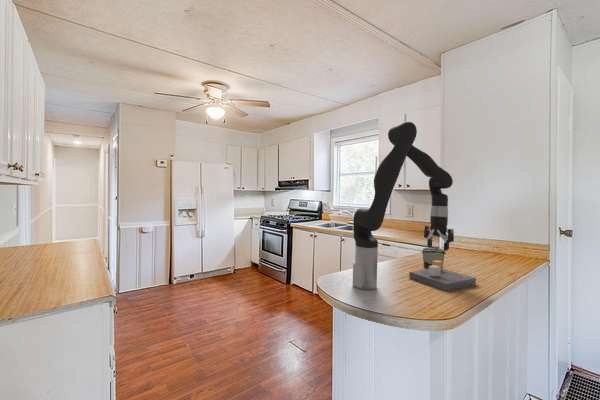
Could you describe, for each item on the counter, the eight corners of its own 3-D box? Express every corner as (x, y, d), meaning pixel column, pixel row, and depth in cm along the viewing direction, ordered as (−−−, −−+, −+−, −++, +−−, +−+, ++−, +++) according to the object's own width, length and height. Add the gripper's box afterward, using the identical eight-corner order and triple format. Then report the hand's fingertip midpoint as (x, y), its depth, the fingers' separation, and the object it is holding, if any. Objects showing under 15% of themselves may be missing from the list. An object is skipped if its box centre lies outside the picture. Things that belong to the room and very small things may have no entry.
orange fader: (437, 270, 132) (437, 262, 132) (431, 269, 135) (431, 260, 135) (442, 269, 134) (442, 261, 134) (437, 268, 137) (437, 260, 137)
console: (446, 291, 114) (446, 283, 114) (409, 278, 131) (409, 271, 131) (475, 284, 123) (475, 277, 123) (437, 273, 140) (437, 267, 140)
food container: (440, 266, 154) (441, 248, 154) (445, 269, 148) (446, 250, 148) (417, 265, 156) (418, 247, 155) (421, 268, 150) (422, 249, 149)
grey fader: (434, 276, 122) (434, 267, 122) (428, 274, 125) (428, 266, 125) (440, 275, 124) (440, 266, 124) (434, 273, 127) (434, 265, 127)
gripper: (421, 214, 138) (420, 246, 139) (447, 216, 126) (446, 252, 126) (431, 214, 142) (430, 245, 142) (458, 216, 129) (456, 251, 129)
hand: (437, 248), depth 134 cm, fingers open, 8 cm apart
